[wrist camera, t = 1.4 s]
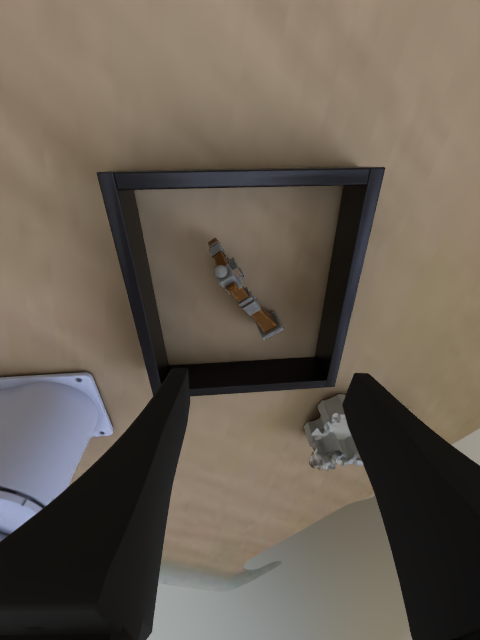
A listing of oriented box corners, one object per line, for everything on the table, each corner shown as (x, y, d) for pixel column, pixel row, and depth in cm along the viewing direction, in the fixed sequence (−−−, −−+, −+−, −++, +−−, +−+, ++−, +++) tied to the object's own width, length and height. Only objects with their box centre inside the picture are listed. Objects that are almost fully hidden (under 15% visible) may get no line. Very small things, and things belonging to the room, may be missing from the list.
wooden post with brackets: (215, 222, 16) (236, 268, 14) (264, 290, 23) (285, 331, 20) (192, 238, 17) (207, 286, 14) (246, 301, 23) (264, 342, 20)
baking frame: (160, 373, 23) (153, 398, 21) (116, 170, 15) (96, 172, 13) (322, 363, 24) (334, 387, 22) (359, 166, 16) (386, 167, 14)
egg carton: (294, 432, 29) (304, 469, 26) (329, 384, 26) (346, 419, 22) (372, 448, 32) (392, 483, 28) (414, 406, 28) (442, 441, 25)
